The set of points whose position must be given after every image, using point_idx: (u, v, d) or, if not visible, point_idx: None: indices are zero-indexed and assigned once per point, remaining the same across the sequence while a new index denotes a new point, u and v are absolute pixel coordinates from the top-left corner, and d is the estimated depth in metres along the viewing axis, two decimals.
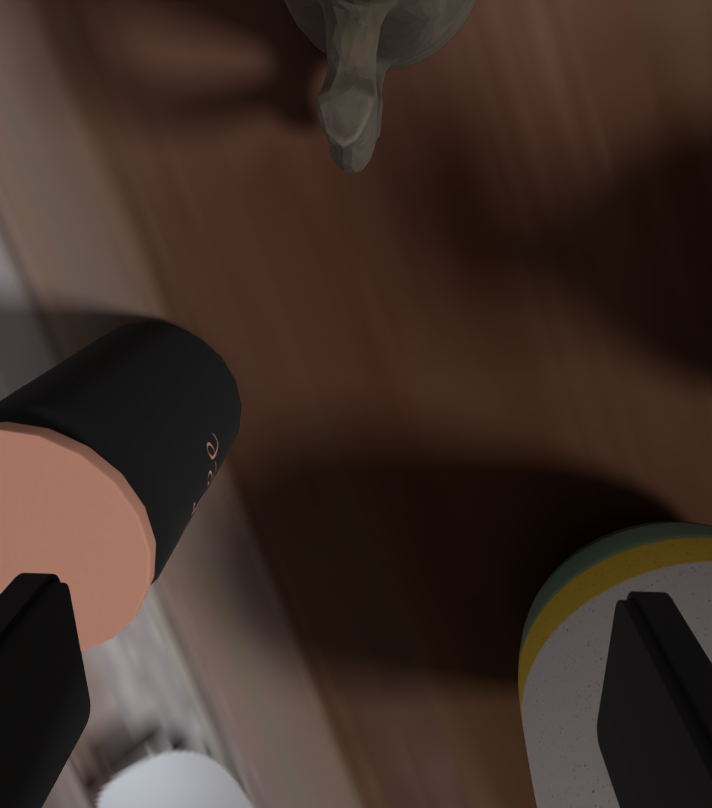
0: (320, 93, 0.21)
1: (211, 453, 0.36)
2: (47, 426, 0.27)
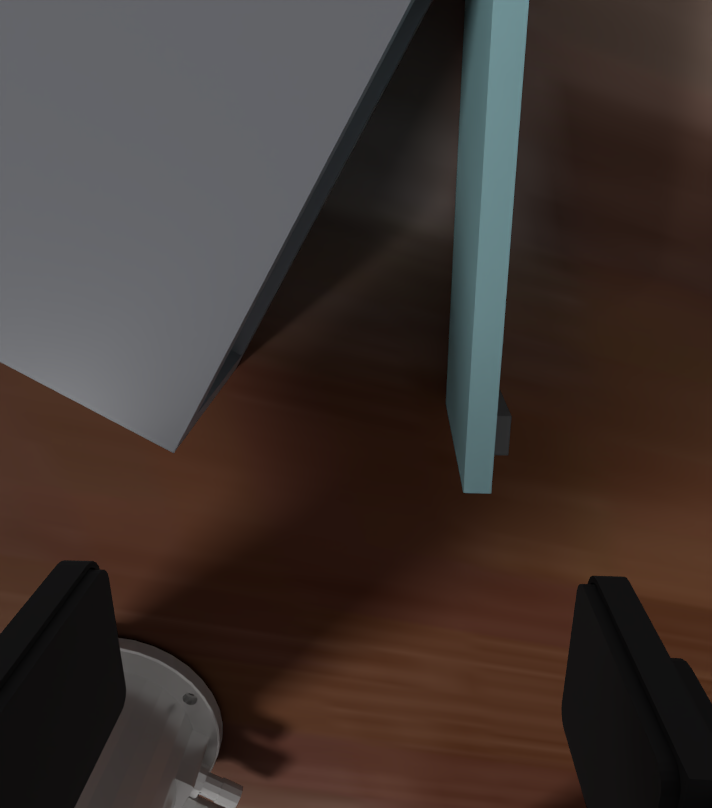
0: None
1: None
2: None
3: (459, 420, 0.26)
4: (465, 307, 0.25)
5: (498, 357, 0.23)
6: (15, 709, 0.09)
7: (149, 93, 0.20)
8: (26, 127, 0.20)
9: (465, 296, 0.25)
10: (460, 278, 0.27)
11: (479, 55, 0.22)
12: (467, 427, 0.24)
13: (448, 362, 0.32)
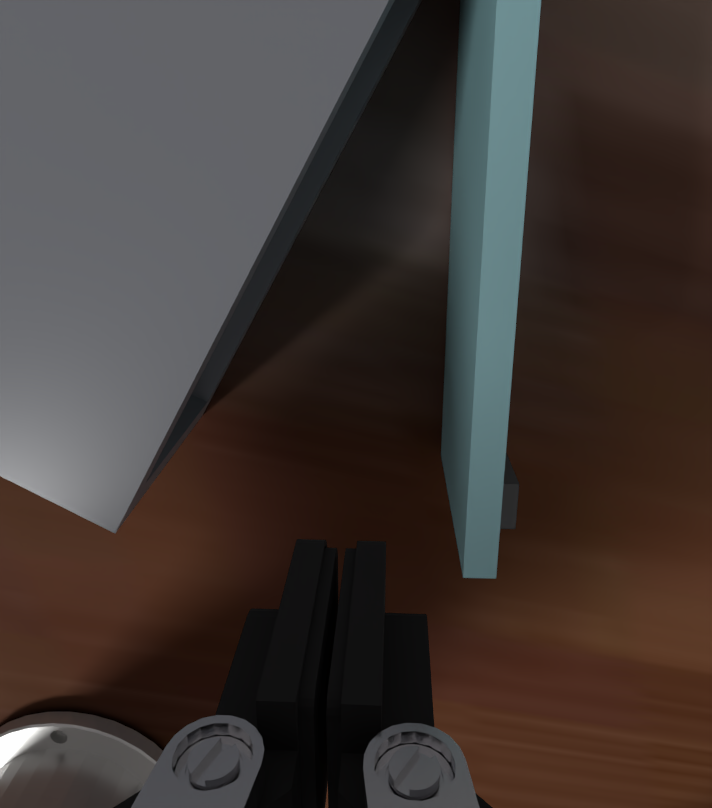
0: None
1: None
2: None
3: (457, 486, 0.22)
4: (463, 355, 0.21)
5: (504, 420, 0.19)
6: (320, 672, 0.09)
7: (72, 103, 0.16)
8: None
9: (463, 342, 0.21)
10: (457, 318, 0.23)
11: (479, 58, 0.18)
12: (467, 502, 0.20)
13: (443, 409, 0.28)
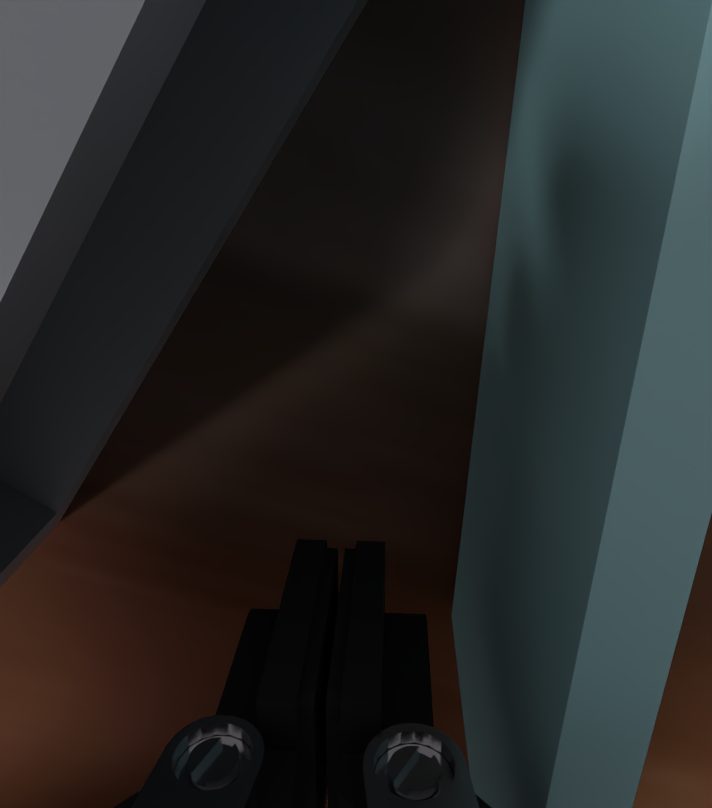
0: None
1: None
2: None
3: (490, 780, 0.11)
4: (525, 551, 0.10)
5: (632, 773, 0.08)
6: (319, 672, 0.09)
7: None
8: None
9: (526, 524, 0.10)
10: (506, 446, 0.12)
11: None
12: None
13: (461, 553, 0.17)
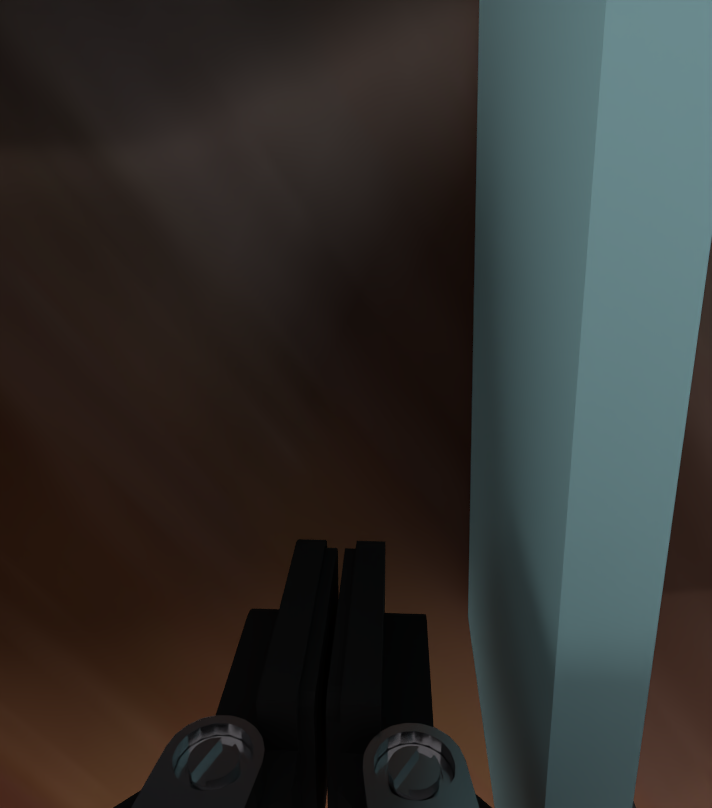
0: None
1: None
2: None
3: (505, 782, 0.11)
4: (514, 550, 0.10)
5: (628, 770, 0.08)
6: (320, 672, 0.09)
7: None
8: None
9: (513, 523, 0.10)
10: (494, 444, 0.12)
11: None
12: None
13: (470, 553, 0.17)
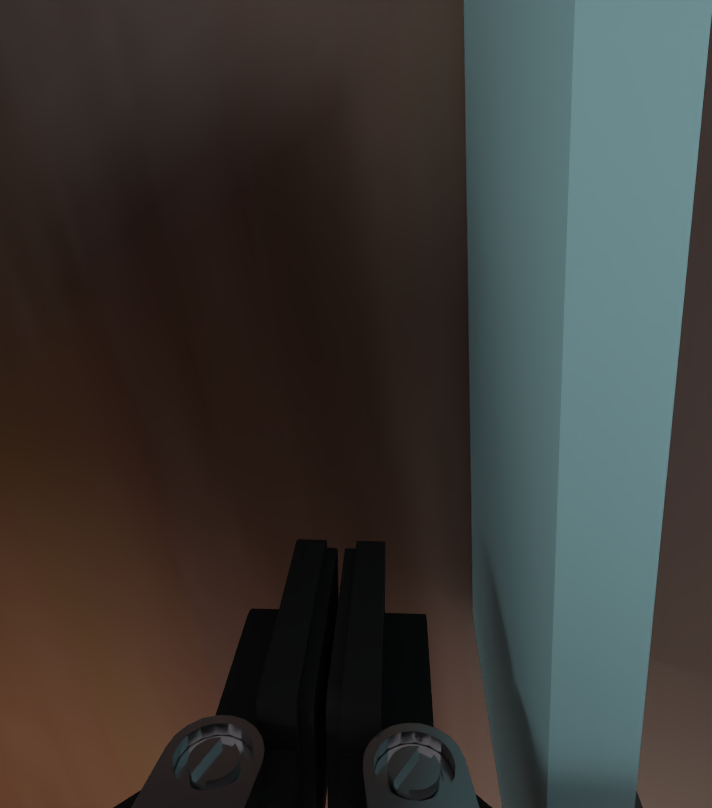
0: None
1: None
2: None
3: (510, 783, 0.11)
4: (511, 550, 0.10)
5: (629, 768, 0.08)
6: (319, 672, 0.09)
7: None
8: None
9: (509, 523, 0.10)
10: (490, 444, 0.12)
11: None
12: None
13: (473, 554, 0.17)
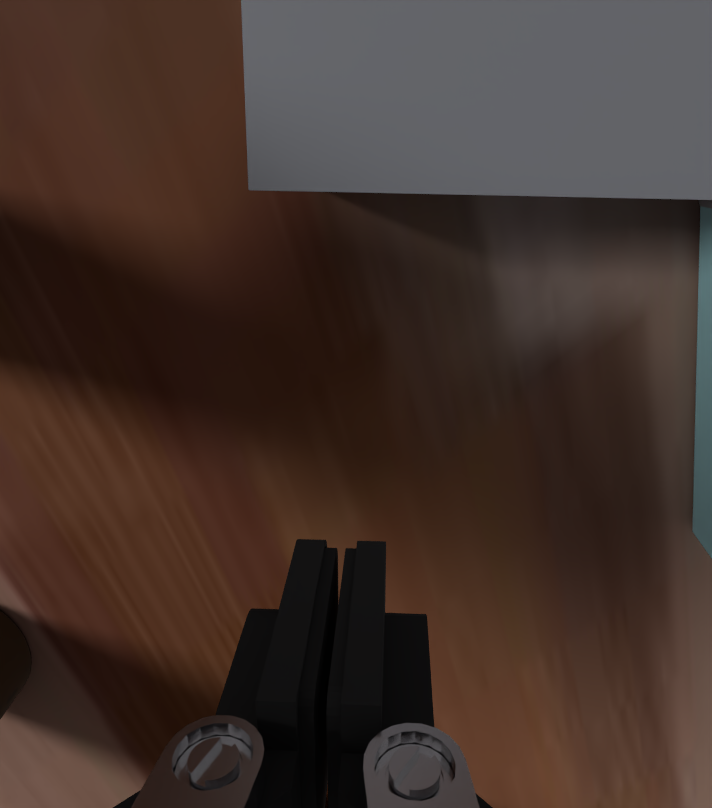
0: None
1: None
2: None
3: None
4: None
5: None
6: (319, 672, 0.09)
7: (547, 24, 0.22)
8: None
9: None
10: None
11: None
12: None
13: (695, 500, 0.38)
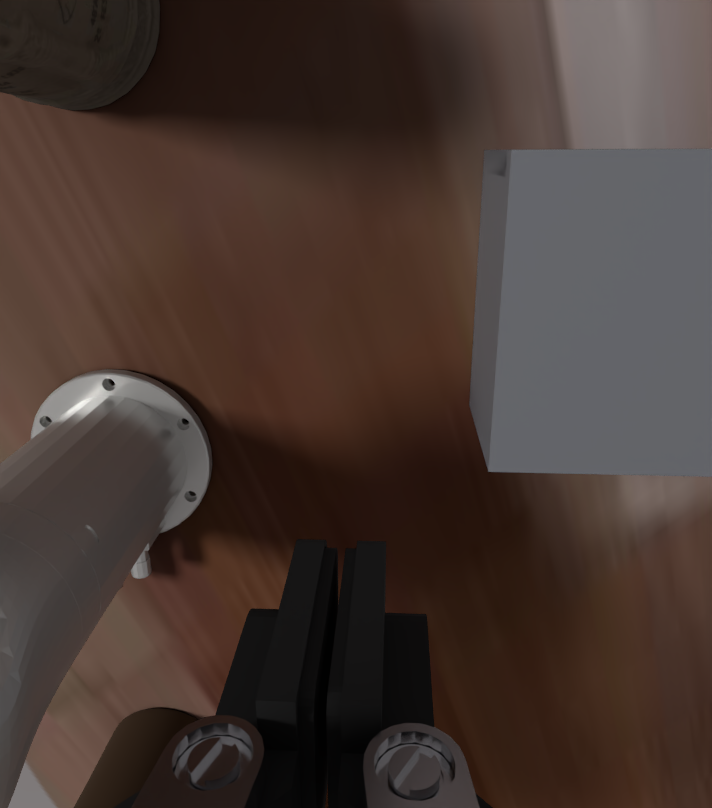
0: None
1: None
2: None
3: None
4: None
5: None
6: (319, 672, 0.09)
7: (707, 376, 0.33)
8: (660, 317, 0.32)
9: None
10: None
11: None
12: None
13: None
